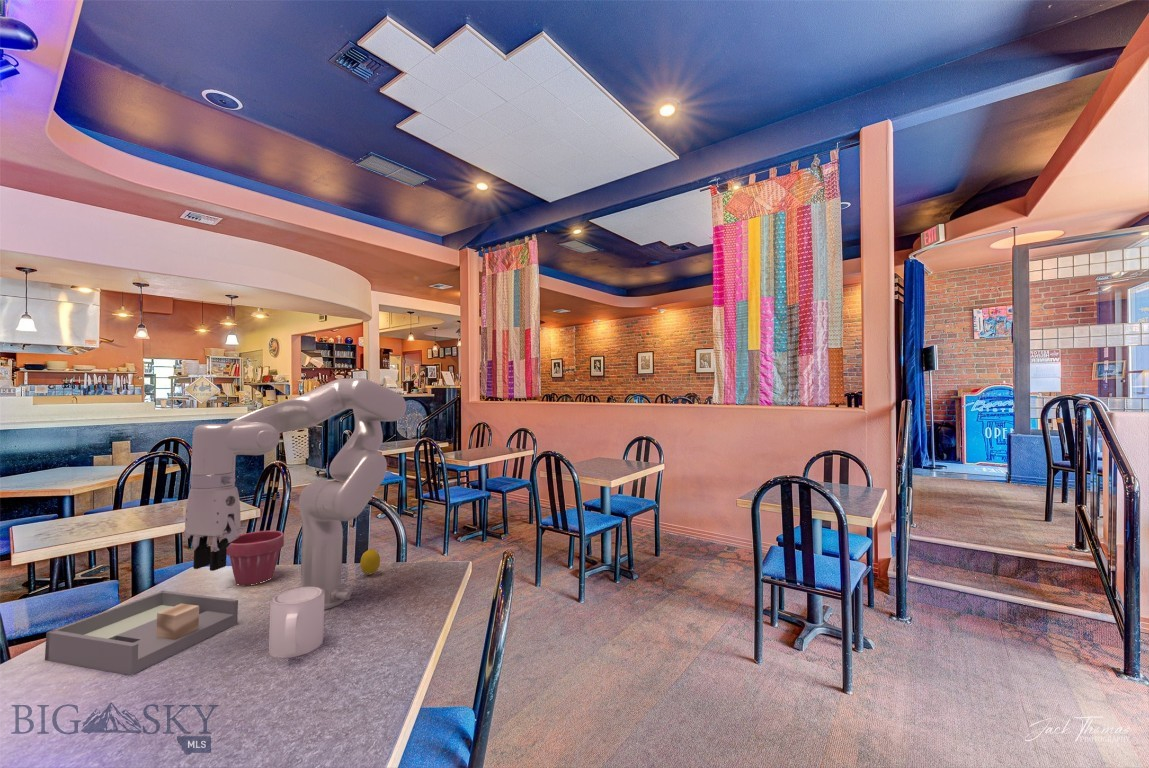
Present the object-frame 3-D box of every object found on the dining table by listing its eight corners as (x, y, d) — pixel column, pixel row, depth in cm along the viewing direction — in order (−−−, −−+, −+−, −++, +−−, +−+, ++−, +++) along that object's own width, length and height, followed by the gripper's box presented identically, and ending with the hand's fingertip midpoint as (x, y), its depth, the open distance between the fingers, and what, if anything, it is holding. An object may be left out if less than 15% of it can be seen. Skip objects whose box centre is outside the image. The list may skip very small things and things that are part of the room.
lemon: (372, 579, 140) (373, 552, 140) (355, 577, 141) (356, 550, 141) (383, 572, 145) (384, 546, 146) (367, 571, 146) (368, 545, 147)
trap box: (237, 623, 111) (238, 599, 112) (131, 675, 90) (132, 646, 90) (162, 613, 117) (163, 590, 117) (44, 659, 95) (46, 632, 95)
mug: (320, 659, 96) (322, 606, 97) (261, 670, 92) (263, 615, 92) (324, 630, 108) (326, 583, 109) (272, 639, 104) (274, 590, 105)
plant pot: (211, 587, 133) (213, 541, 134) (255, 570, 147) (257, 528, 147) (252, 592, 130) (254, 545, 130) (293, 574, 143) (295, 532, 144)
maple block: (198, 628, 103) (199, 605, 104) (174, 640, 99) (175, 615, 99) (180, 626, 105) (181, 603, 105) (156, 637, 100) (157, 613, 100)
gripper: (260, 480, 103) (257, 565, 102) (200, 477, 107) (196, 559, 106) (227, 486, 96) (224, 577, 95) (164, 482, 99) (160, 570, 99)
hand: (209, 566), depth 100 cm, fingers open, 3 cm apart
